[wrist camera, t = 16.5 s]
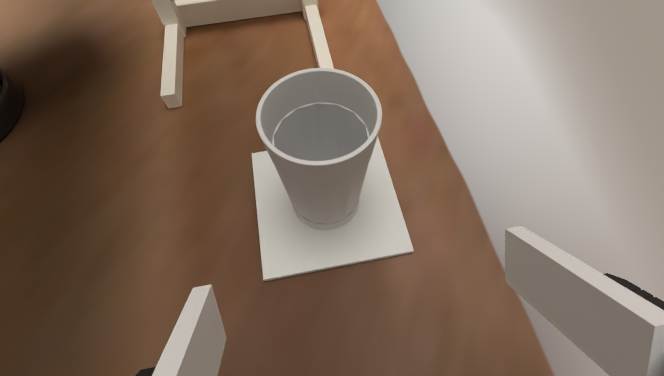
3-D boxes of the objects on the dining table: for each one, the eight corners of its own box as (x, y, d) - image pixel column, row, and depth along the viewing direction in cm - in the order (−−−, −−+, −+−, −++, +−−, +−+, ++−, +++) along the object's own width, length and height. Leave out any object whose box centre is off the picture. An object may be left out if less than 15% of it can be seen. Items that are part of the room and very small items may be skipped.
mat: (264, 281, 29) (263, 279, 29) (252, 156, 35) (251, 153, 35) (412, 252, 30) (413, 250, 30) (376, 135, 36) (376, 132, 36)
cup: (330, 149, 35) (326, 51, 24) (386, 202, 32) (408, 116, 21) (266, 194, 33) (231, 107, 22) (319, 256, 30) (308, 190, 19)
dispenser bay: (336, 82, 40) (335, 38, 35) (166, 109, 39) (138, 66, 33) (314, 0, 48) (311, -47, 42) (171, 19, 46) (149, -26, 41)
